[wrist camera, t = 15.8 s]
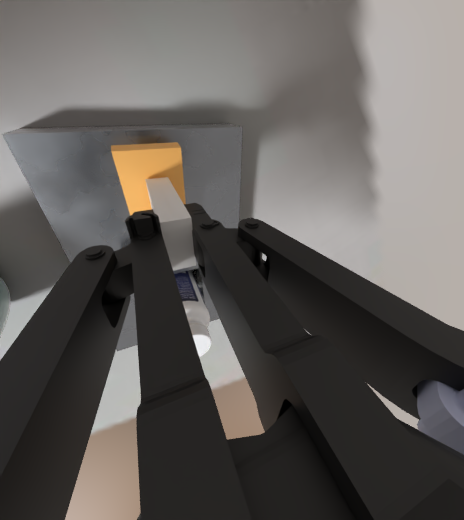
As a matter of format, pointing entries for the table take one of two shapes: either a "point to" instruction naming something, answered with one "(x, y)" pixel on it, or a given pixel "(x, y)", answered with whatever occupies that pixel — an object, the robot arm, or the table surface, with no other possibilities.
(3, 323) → the cup
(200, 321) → the pill bottle
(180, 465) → the robot arm
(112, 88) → the table surface
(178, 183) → the lever
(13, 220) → the table surface
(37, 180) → the hitch plate
